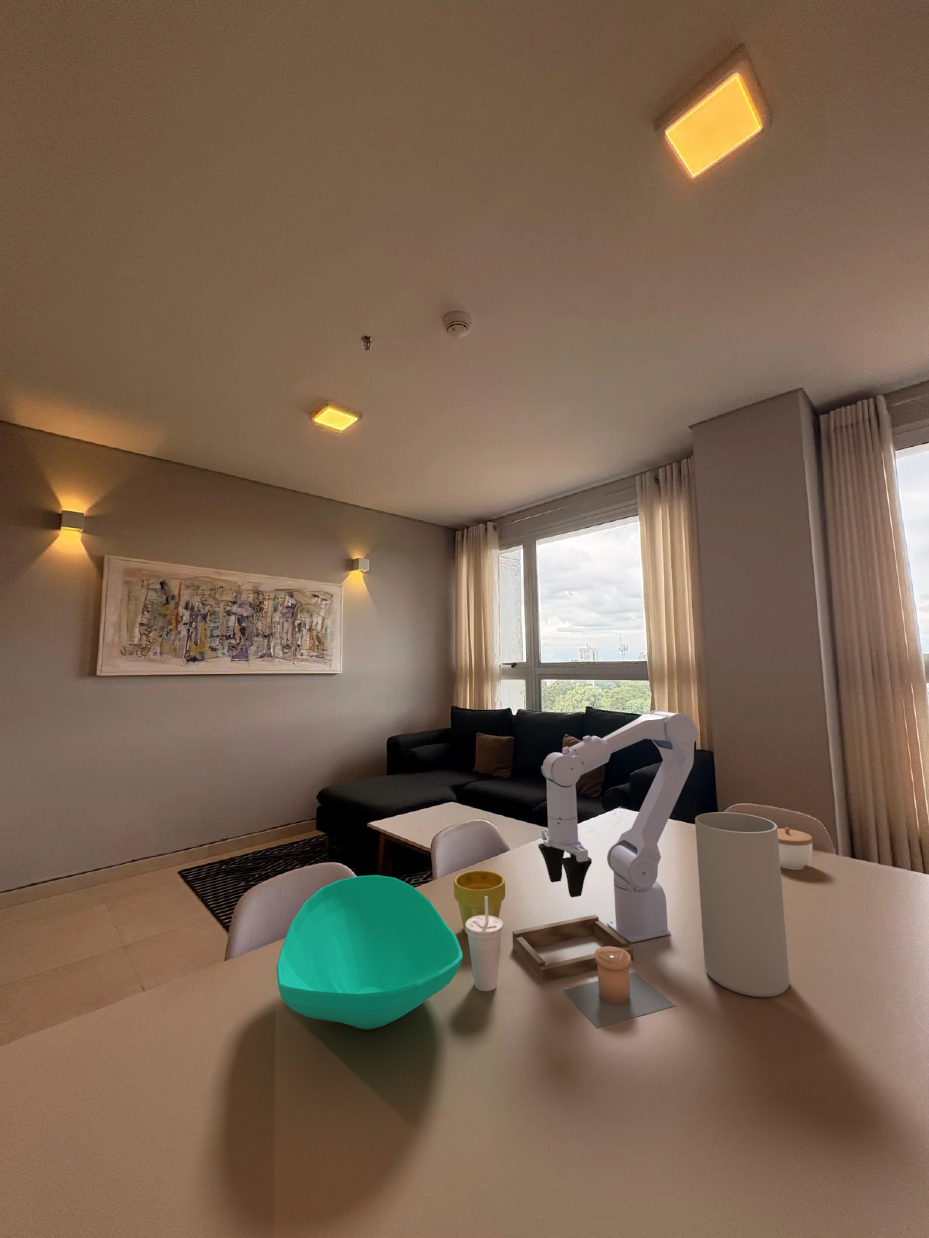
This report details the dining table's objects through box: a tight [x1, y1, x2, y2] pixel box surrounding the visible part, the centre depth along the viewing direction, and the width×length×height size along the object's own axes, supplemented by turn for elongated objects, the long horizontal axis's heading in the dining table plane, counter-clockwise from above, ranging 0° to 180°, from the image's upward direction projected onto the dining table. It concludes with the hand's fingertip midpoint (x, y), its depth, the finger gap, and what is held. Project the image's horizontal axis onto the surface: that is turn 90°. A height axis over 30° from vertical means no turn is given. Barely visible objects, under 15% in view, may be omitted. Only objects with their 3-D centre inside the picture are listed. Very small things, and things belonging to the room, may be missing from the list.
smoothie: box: [464, 896, 504, 992], centre depth 89 cm, size 6×6×14 cm
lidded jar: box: [777, 827, 813, 871], centre depth 138 cm, size 11×11×9 cm
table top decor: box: [275, 874, 463, 1030], centre depth 83 cm, size 40×28×13 cm
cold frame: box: [511, 914, 635, 983], centre depth 98 cm, size 18×12×3 cm, turn 109°
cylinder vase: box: [694, 811, 790, 998], centre depth 90 cm, size 12×12×25 cm
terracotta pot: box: [593, 946, 632, 1005], centre depth 85 cm, size 6×6×6 cm
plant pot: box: [453, 869, 506, 933], centre depth 108 cm, size 10×10×10 cm
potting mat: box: [562, 971, 677, 1029], centre depth 84 cm, size 14×10×1 cm
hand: (565, 888), depth 104 cm, fingers open, 7 cm apart
